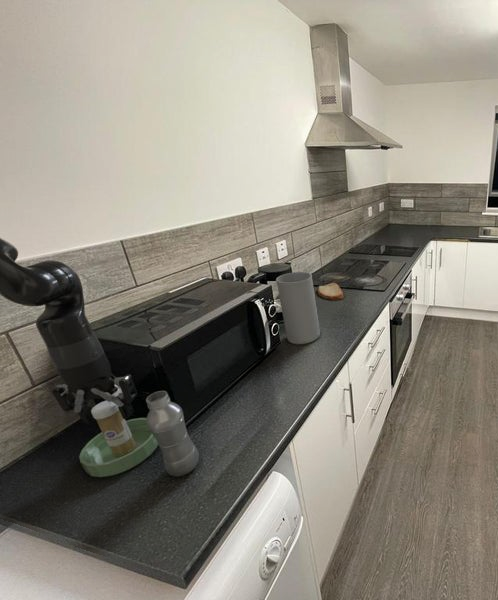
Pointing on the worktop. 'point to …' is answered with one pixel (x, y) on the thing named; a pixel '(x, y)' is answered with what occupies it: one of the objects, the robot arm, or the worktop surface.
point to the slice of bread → (330, 292)
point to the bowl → (103, 463)
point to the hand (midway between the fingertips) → (110, 419)
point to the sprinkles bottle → (114, 428)
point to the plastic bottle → (171, 434)
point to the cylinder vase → (298, 307)
